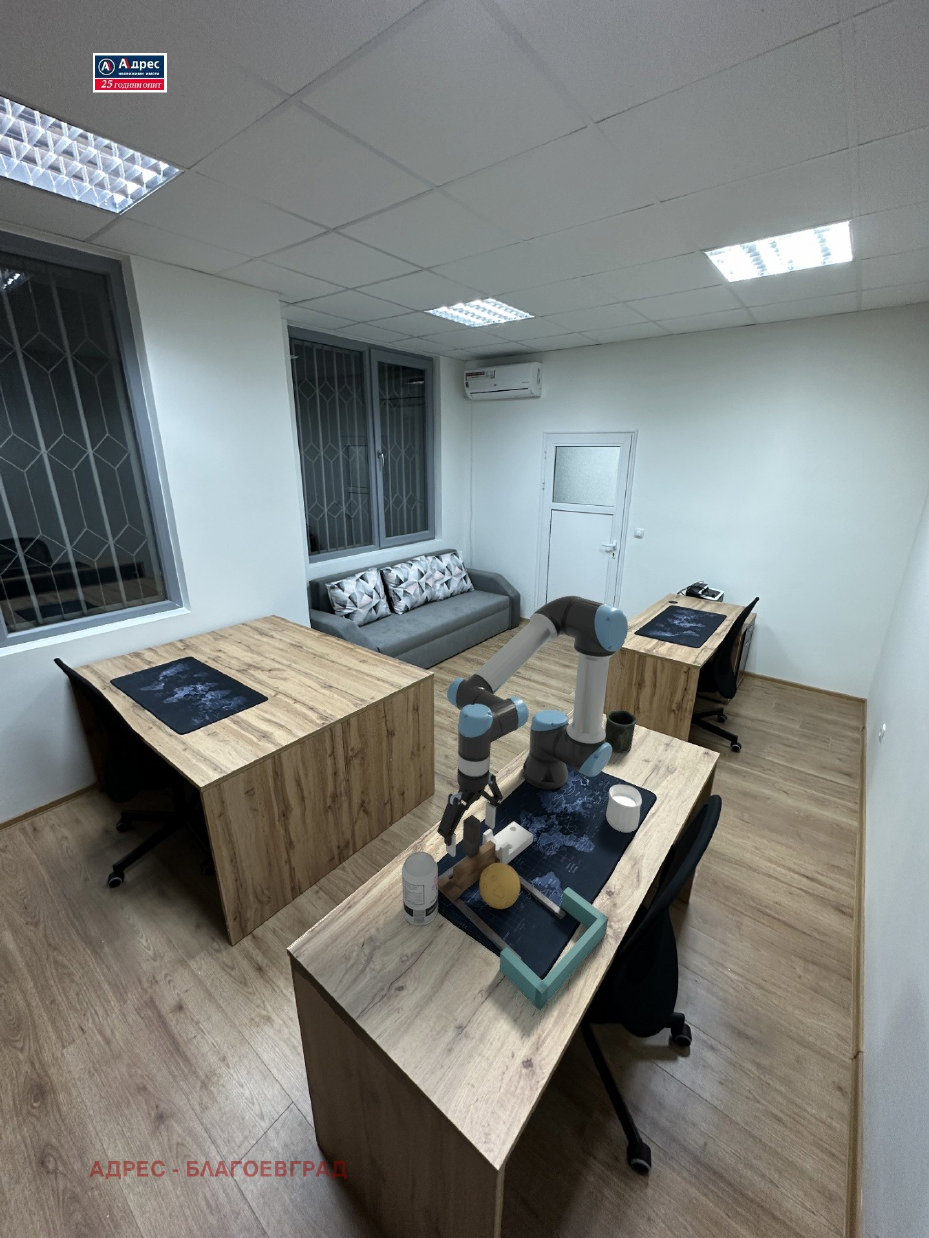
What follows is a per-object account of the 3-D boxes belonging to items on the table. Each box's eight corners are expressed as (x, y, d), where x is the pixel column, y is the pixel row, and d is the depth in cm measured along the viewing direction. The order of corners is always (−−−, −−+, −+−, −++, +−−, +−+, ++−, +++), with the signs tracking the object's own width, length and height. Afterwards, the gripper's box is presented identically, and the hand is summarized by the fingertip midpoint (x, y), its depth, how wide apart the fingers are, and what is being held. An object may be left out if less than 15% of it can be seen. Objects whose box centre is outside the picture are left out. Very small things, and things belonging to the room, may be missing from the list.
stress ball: (510, 886, 125) (482, 858, 125) (534, 878, 118) (504, 848, 119) (493, 922, 117) (464, 891, 117) (518, 915, 111) (486, 883, 111)
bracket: (501, 870, 129) (502, 848, 126) (482, 855, 133) (483, 833, 131) (532, 844, 137) (534, 823, 135) (513, 830, 142) (514, 809, 139)
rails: (481, 847, 135) (481, 844, 135) (565, 915, 116) (565, 912, 116) (433, 883, 124) (433, 880, 124) (516, 965, 105) (516, 962, 104)
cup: (623, 806, 152) (627, 780, 148) (646, 828, 143) (651, 801, 140) (598, 814, 148) (602, 788, 145) (620, 837, 140) (624, 810, 136)
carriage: (488, 849, 134) (491, 797, 128) (505, 862, 130) (508, 809, 124) (436, 889, 122) (435, 834, 116) (452, 905, 118) (452, 848, 112)
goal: (566, 902, 120) (568, 886, 118) (605, 933, 112) (608, 917, 110) (499, 969, 104) (500, 952, 102) (540, 1010, 97) (542, 993, 95)
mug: (597, 746, 182) (601, 718, 178) (612, 729, 193) (616, 702, 188) (626, 757, 175) (630, 728, 171) (639, 739, 186) (644, 712, 182)
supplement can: (399, 903, 118) (397, 855, 113) (431, 892, 122) (430, 845, 116) (409, 932, 111) (407, 883, 106) (442, 920, 115) (442, 871, 109)
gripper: (498, 741, 126) (494, 807, 133) (422, 782, 110) (422, 856, 117) (520, 754, 121) (515, 822, 128) (443, 799, 104) (442, 875, 112)
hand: (470, 838), depth 122 cm, fingers open, 13 cm apart
